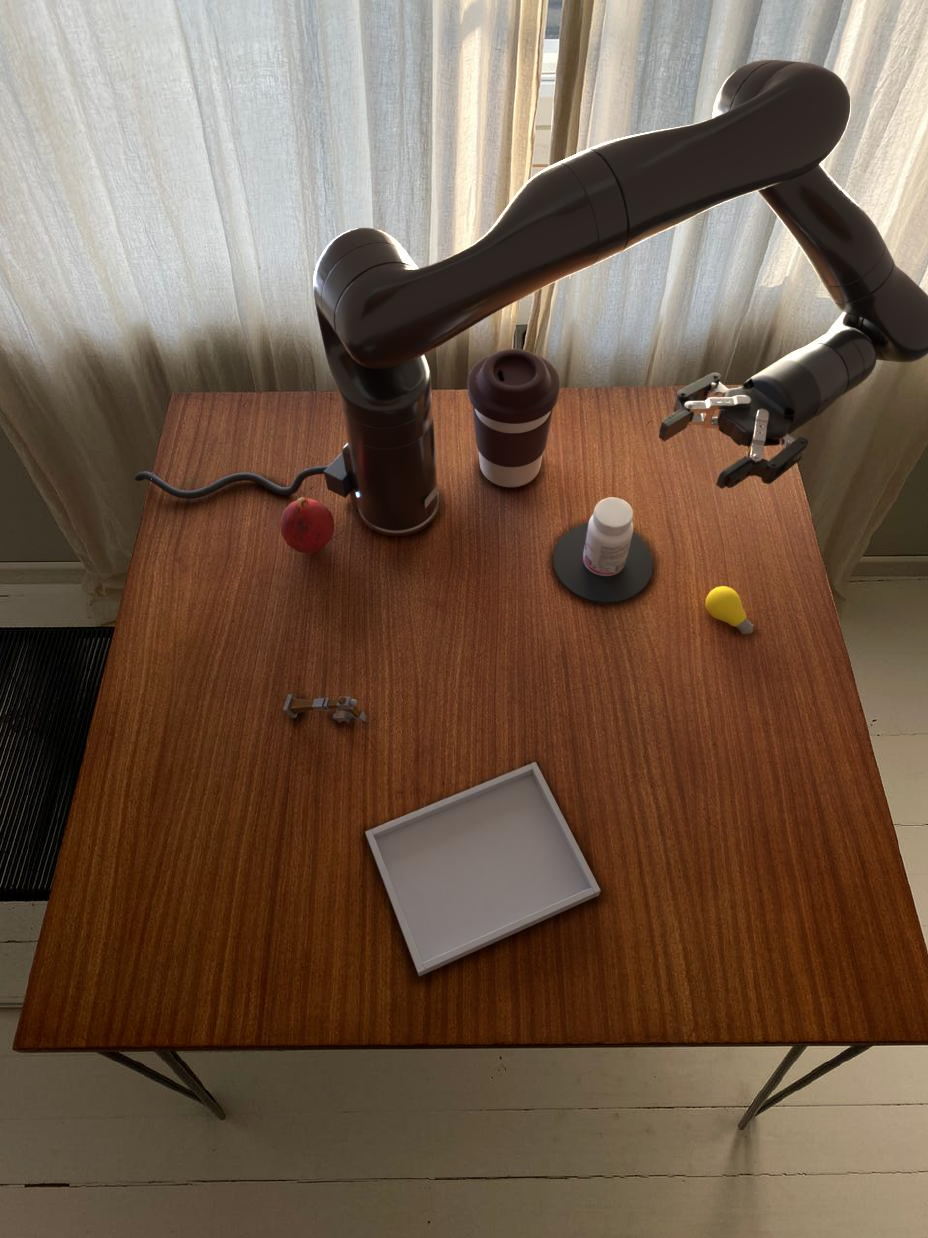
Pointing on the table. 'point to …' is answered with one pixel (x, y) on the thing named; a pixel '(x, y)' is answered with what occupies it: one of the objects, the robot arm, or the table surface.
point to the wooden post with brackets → (326, 707)
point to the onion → (307, 525)
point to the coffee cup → (512, 413)
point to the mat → (597, 586)
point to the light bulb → (728, 608)
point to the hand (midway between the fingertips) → (690, 457)
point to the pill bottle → (608, 537)
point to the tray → (480, 867)
